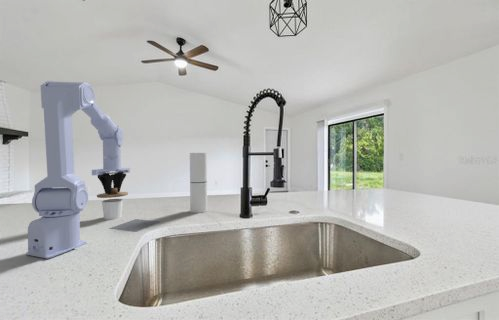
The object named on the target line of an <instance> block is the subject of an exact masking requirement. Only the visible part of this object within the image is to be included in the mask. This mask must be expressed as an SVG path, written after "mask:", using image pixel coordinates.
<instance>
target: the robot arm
mask: <svg viewBox="0 0 499 320" xmlns="http://www.w3.org/2000/svg"><path fill="white" fill-rule="evenodd" d="M95 97H96V96H95V91H94V89H93V87H92V85H90V83H88V82H85V81H82V82H78V81H77V82H76V81H75V82H74V81H53V80H47V81H44V82H43V83H42V84H41V85H40V100H41V101H40V102H41V109H43V117H44V119H43V122H44V136H45V157H46V172H47V173H46V175H47V176H46V177H44V178H43V179H42V180H40V181H39V182H37V183H36V184H35V185H34V194H33V196H32V198H31V199H32V200H31V205H32V208H33V210H34V211H35V212H37V213H38V216H39V218H37V219H36V218H35V219H33V220H31V222H30V223H29V225H28V226H27V251H26V253H25V255H27V256H32V257H37V258H42V259H43V258H44V259H46V260H47V259H52V258H54V257H57V256H59V255H61V254H64V253H68V252H69V251H72V250H74V249H77V248H79V247H81V246H85V245H88V244H89V241H86V240H81V223H80V222H81V218H80V216H81V214H80V212H82V211H84V209H85V208H86V207H87V205H88V201H89V193H88V191H87V188H86V184H85V181H84V180H83V179H81V178H80V177H78V176H77V175H76V174H75V160H74V158H75V156H74V141H73V140H74V138H73V117H72V116H73V115H74V114H75V113H76V112H77V111H79V110H81V111H82V112H83V113H84V114H86V115H87V116H88V117H89V118H90V124H91V125H92V126H93V127H94V129H96V130H97V134H98V135H99V138H100V140H101V141H102V164H103V166H102V168H100V169H99V168H98V169H92V170H91V176H97V178H98V180H99V181H100V183H101V185H102V187H103V190H104V193H105V194H111V190H112V188H118V192H121V189H122V184H123V182H124V180H125V178H127V174H128V173H130V171H131V170H130V169H131V168H130V167H122V160H121V159H122V155H121V153H122V150H121V147H122V146H123V145H122V144H123V139H124V131H123V130H124V129H123V128H122V127H121V126H119V125H116V124H115V122H114V121H113V120H112V119H111V117H110V116H109V115H108V114H107V113H105V112H102V111H101V109H100V108H99V106H98V105H97V103H96V102H95V99H96V98H95ZM112 184H113V187H112Z"/></svg>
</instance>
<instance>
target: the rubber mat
mask: <svg viewBox="0 0 499 320" xmlns="http://www.w3.org/2000/svg"><path fill="white" fill-rule="evenodd" d="M159 223H161V221H158V220H149V219H138V218H136V219H135V218H134V219H132V220H129V221H126V222H124V223H121V224H118V225H115V226H112V227H109V229H110V230H111V229H112V230H116V231H117V230H118V231H124V232H125V231H126V232H136V233H137V232H139V231H142V230H144V229H147V228H149V227H151V226H154V225H156V224H159Z"/></svg>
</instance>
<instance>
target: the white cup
mask: <svg viewBox="0 0 499 320" xmlns="http://www.w3.org/2000/svg"><path fill="white" fill-rule="evenodd" d="M123 201H124V199H123V198H108V199H105V200H102V201H101V205H102V213H103V219H104V220H107V221H108V220H116V219H120V218H122V215H123V214H122V213H123V203H124V202H123Z"/></svg>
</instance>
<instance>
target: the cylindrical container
mask: <svg viewBox="0 0 499 320" xmlns="http://www.w3.org/2000/svg"><path fill="white" fill-rule="evenodd" d="M207 161H208V155H207V152H189V207H190V208H189V212H190V213H197V214H202V212H204V213H206V211H207V212H208V162H207Z"/></svg>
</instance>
